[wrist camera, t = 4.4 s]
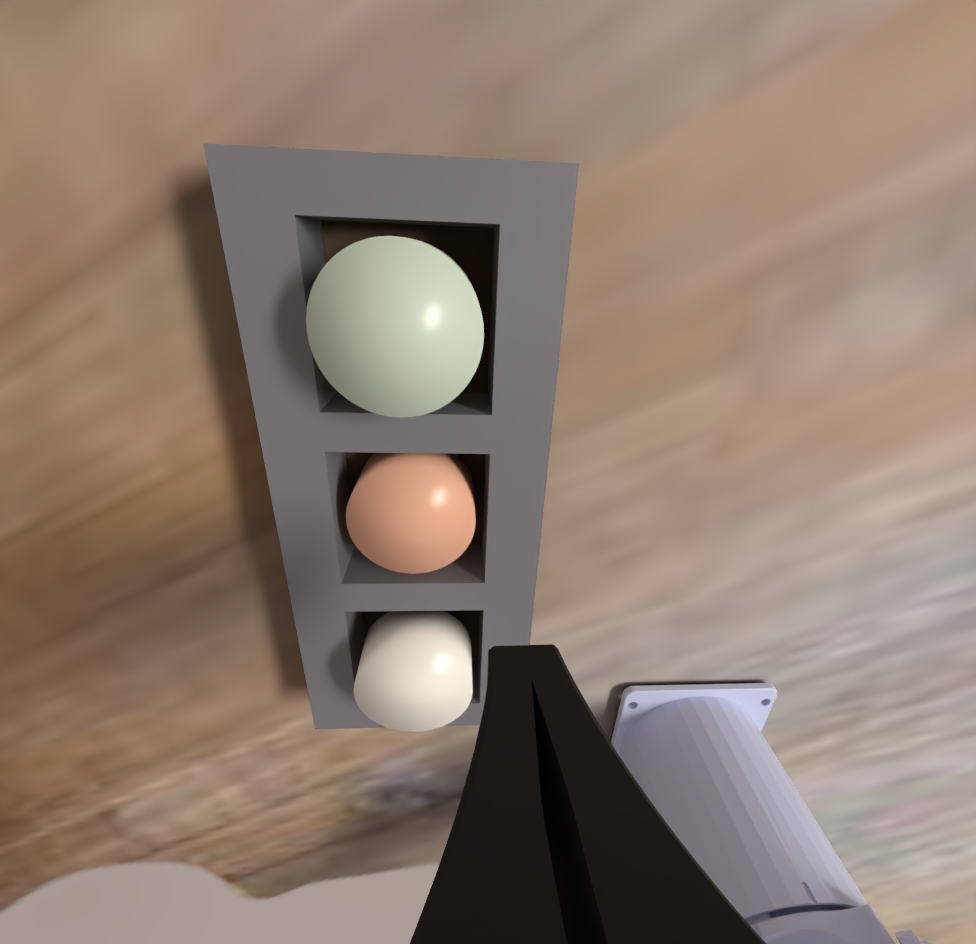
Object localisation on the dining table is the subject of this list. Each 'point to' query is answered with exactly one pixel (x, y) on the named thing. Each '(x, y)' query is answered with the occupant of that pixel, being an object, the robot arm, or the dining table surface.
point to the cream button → (415, 671)
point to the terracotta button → (412, 510)
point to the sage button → (395, 326)
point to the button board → (349, 428)
